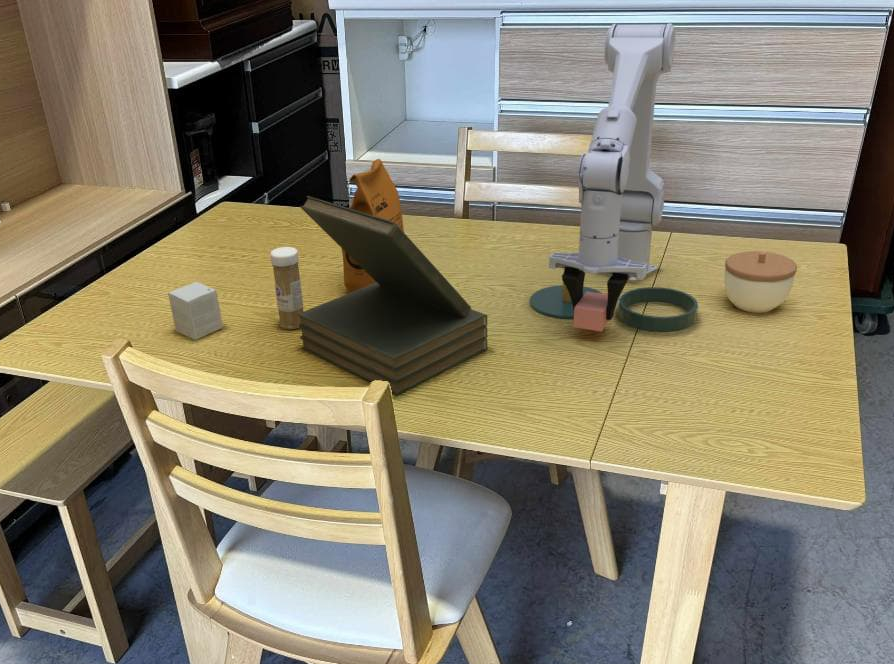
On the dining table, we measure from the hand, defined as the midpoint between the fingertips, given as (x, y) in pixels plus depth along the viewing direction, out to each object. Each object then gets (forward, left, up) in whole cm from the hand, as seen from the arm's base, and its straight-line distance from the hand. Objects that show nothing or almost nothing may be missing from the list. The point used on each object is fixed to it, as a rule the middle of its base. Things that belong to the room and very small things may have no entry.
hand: (593, 315), depth 137 cm
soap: (0, 0, -1) cm, 1 cm away
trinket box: (+13, +26, -4) cm, 30 cm away
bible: (-21, -24, -4) cm, 32 cm away
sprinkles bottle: (-41, -29, -4) cm, 50 cm away
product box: (-52, -41, -4) cm, 66 cm away
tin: (+4, +12, -4) cm, 13 cm away
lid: (-10, +7, -3) cm, 13 cm away
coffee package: (-43, -8, -4) cm, 44 cm away
